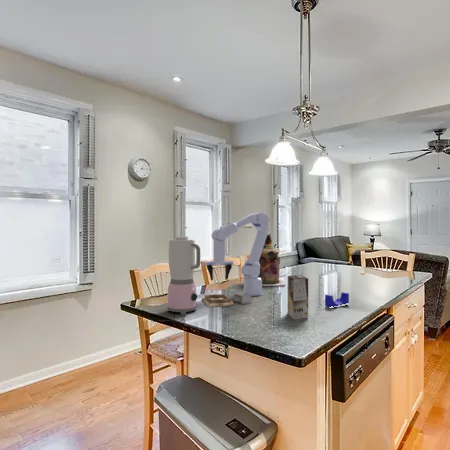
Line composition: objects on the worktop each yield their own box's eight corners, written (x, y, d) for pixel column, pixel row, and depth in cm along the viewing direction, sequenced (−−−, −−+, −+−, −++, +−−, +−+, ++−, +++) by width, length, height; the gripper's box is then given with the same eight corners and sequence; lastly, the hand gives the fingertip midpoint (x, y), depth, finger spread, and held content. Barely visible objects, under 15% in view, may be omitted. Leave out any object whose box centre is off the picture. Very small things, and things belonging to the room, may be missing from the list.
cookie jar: (247, 280, 230) (247, 232, 230) (284, 280, 226) (284, 232, 226) (244, 286, 205) (244, 233, 205) (285, 287, 202) (285, 233, 202)
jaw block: (243, 300, 168) (243, 292, 168) (251, 303, 162) (251, 295, 162) (234, 301, 165) (234, 293, 165) (241, 304, 159) (241, 296, 159)
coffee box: (309, 319, 134) (309, 278, 134) (293, 319, 133) (293, 278, 133) (301, 313, 143) (301, 275, 143) (286, 313, 142) (286, 275, 142)
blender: (161, 312, 144) (161, 237, 144) (179, 306, 155) (179, 236, 155) (190, 317, 136) (190, 237, 136) (208, 311, 146) (208, 236, 146)
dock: (225, 298, 172) (225, 293, 172) (234, 305, 156) (234, 299, 156) (202, 299, 169) (202, 294, 169) (208, 307, 153) (208, 301, 153)
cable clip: (340, 304, 159) (340, 291, 159) (348, 306, 156) (348, 293, 156) (322, 307, 153) (322, 294, 153) (330, 309, 149) (330, 296, 149)
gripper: (230, 252, 178) (230, 278, 178) (203, 252, 174) (203, 279, 174) (234, 253, 171) (234, 280, 171) (206, 253, 167) (206, 281, 167)
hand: (219, 279), depth 172 cm, fingers open, 7 cm apart
